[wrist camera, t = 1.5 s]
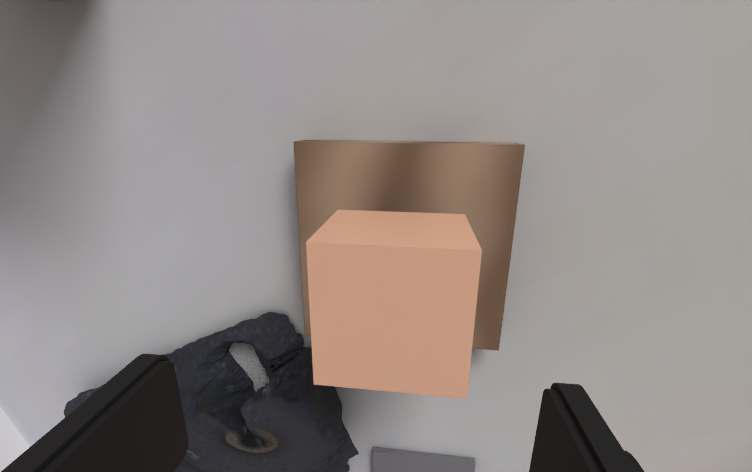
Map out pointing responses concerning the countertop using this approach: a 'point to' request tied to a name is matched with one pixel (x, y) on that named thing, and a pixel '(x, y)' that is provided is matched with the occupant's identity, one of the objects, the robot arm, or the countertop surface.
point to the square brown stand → (419, 200)
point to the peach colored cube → (393, 301)
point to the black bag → (255, 405)
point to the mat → (418, 462)
